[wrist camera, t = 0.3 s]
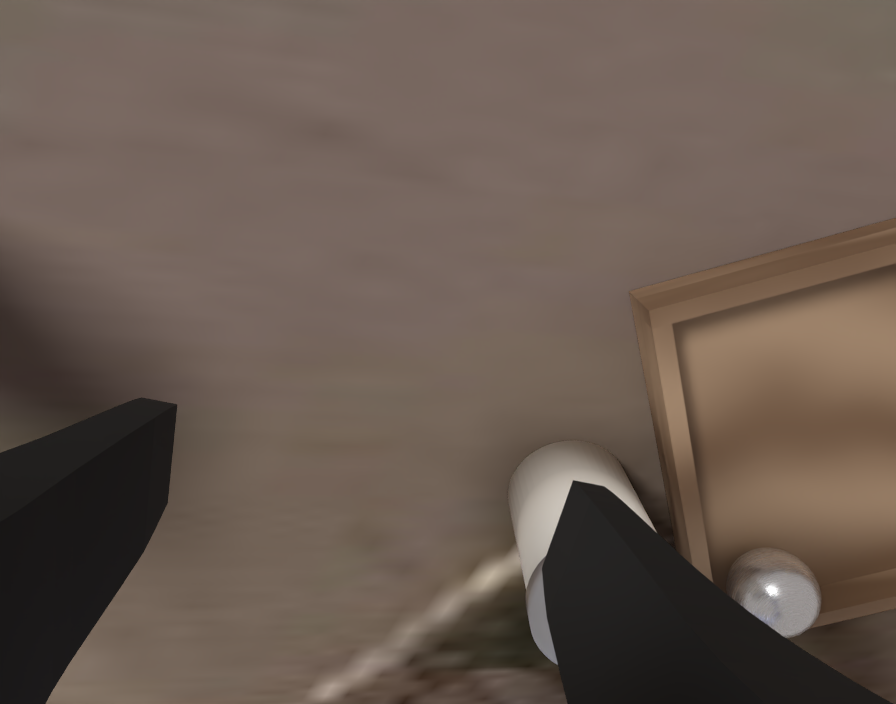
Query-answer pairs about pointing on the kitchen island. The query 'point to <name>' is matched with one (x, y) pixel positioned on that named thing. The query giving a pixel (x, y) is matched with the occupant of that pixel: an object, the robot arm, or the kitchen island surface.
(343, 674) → the kitchen island surface
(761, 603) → the steel ball
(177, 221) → the kitchen island surface
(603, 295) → the kitchen island surface
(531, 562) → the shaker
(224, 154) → the kitchen island surface
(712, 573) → the tray
